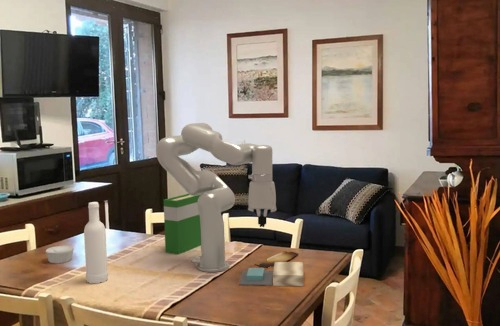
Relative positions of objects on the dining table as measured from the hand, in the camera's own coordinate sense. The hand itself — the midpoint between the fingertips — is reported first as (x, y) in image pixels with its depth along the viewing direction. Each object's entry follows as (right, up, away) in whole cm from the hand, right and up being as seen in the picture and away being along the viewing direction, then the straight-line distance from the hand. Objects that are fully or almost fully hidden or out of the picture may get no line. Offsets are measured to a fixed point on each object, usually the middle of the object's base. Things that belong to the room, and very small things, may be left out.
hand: (262, 226), depth 201 cm
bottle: (-63, -21, +1) cm, 66 cm away
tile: (-3, -17, 0) cm, 17 cm away
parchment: (+8, -18, +24) cm, 31 cm away
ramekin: (-86, -18, +28) cm, 93 cm away
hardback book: (-35, -16, +44) cm, 58 cm away
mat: (-2, -20, 0) cm, 20 cm away
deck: (+10, -20, -1) cm, 22 cm away
